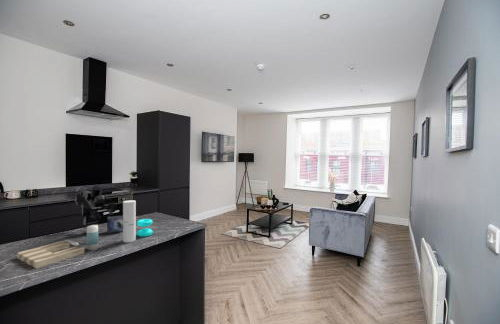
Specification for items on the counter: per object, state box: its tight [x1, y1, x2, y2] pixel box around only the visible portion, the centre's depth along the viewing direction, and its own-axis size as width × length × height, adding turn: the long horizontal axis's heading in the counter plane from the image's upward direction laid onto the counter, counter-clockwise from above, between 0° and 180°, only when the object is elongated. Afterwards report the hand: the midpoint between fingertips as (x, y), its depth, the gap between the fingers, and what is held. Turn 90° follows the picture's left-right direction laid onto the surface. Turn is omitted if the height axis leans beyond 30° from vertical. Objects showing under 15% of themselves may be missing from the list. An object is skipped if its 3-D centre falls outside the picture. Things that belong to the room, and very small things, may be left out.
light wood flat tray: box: [16, 240, 85, 269], centre depth 129 cm, size 22×21×3 cm
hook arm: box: [64, 238, 81, 247], centre depth 137 cm, size 14×2×2 cm, turn 61°
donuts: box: [136, 218, 154, 238], centre depth 164 cm, size 10×10×10 cm
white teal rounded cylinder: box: [86, 224, 99, 251], centre depth 139 cm, size 6×6×13 cm
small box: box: [106, 215, 123, 234], centre depth 170 cm, size 11×6×10 cm, turn 117°
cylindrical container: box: [122, 199, 137, 243], centre depth 153 cm, size 7×7×25 cm
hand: (103, 216), depth 149 cm, fingers open, 9 cm apart
